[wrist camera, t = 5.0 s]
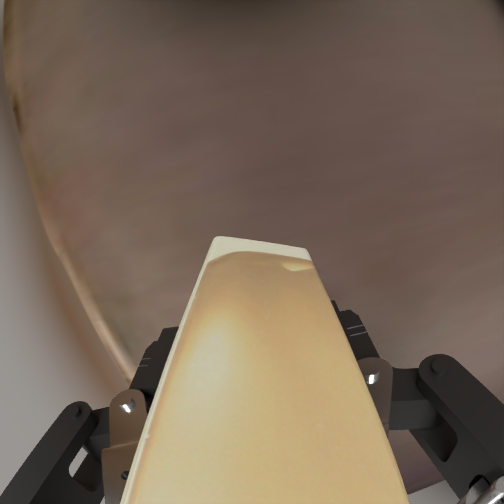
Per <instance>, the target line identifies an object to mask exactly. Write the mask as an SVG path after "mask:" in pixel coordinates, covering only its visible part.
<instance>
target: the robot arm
mask: <svg viewBox="0 0 504 504" xmlns="http://www.w3.org/2000/svg"><path fill="white" fill-rule="evenodd" d="M331 303H332V305H333V307H334V310H335V312H336V314H337V317H338V319H339V321H340V324H341V326H342V328H343V330H344V332H345V335H346V337H347V339H348V342H349V344H350V346H351V349H352V351H353V354H354V356H355V358H356V361H357V363H358V366H359V368H360V371H361V373H362V375H363V377H364V380H365V383H366V385H367V388H368V390H369V392H370V395H371V397H372V399H373V402H374V404H375V407H376V409H377V412H378V415H379V417H380V420H381V423H382V425H383V428H384V431H385V433H386V436H387V438H388V432H389V430H406V429H409V431H410V432H411V434H412V435H413V436H414V438H415V439H416V440H417V442H418V443H419V444H420V446H421V447H422V448H423V450H424V451H425V452H426V454H427V455H428V457H429V458H430V459H431V461H432V462H433V463H434V465H435V466H436V467H437V469H438V470H439V472H440V473H441V474H442V476H443V477H444V478H445V480H446V481H447V482H448V484H449V485H450V487H451V488H452V489H453V491H454V492H455V493H456V495H457V496H458V498H459V499H460V500H459V502H458V503H457V504H504V404H503V403H501V402H500V401H499V400H498V399H497V398H496V397H495V396H494V395H493V394H492V393H491V392H490V391H489V390H488V389H487V388H486V387H485V386H484V385H483V384H482V383H480V382H479V381H478V380H477V379H476V378H475V377H474V376H473V375H472V374H471V373H470V372H469V371H467V370H466V369H465V368H464V367H463V366H462V365H461V364H460V363H459V362H458V361H456V360H455V359H454V358H452V357H451V356H448V355H444V354H435V355H431V356H429V357H427V358H425V359H424V360H423V361H422V362H421V363H420V365H419V368H411V369H398V368H394V367H392V366H391V365H390V364H389V363H388V362H387V361H386V360H384V359H381V358H380V357H379V355H378V353H377V351H376V349H375V347H374V345H373V343H372V341H371V339H370V337H369V335H368V333H367V332H366V329H365V327H364V326H363V323H362V321H361V319H360V318H359V316H358V315H357V314H355V313H354V312H352V311H351V310H346V311H342V312H340V311H339V309H338V307H337V305H336V302H335V301H334V300H332V301H331ZM178 329H179V327H171V328H164V329H163V330H162V332H161V335H160V337H159V340H158V341H154V342H153V343H152V344H151V345H150V346H149V347H148V348H147V349H146V351H145V353H144V355H143V358H142V360H141V362H140V364H139V367H138V369H137V371H136V374H135V376H134V378H133V381H132V383H131V385H130V388H129V389H128V390H124V391H122V392H120V393H118V394H117V395H116V396H115V397H113V399H112V400H111V402H110V404H109V407H106V408H101V409H97V410H92V409H91V407H90V406H89V405H88V404H87V403H86V402H83V401H78V402H74V403H72V404H70V405H68V406H67V407H66V408H65V409H64V410H63V411H62V413H61V414H60V415H59V417H58V418H57V419H56V420H55V422H54V423H53V424H52V425H51V427H50V428H49V429H48V431H47V432H46V433H45V435H44V436H43V437H42V439H41V440H40V441H39V443H38V444H37V445H36V447H35V448H34V449H33V451H32V452H31V454H30V455H29V456H28V458H27V459H26V460H25V462H24V463H23V465H22V466H21V467H20V469H19V470H18V472H17V473H16V474H15V476H14V477H13V479H12V480H11V482H10V483H9V485H8V486H7V487H6V489H5V490H4V492H3V493H2V495H1V496H0V504H100V503H101V501H102V499H103V497H105V504H120V503H121V499H122V496H123V492H124V489H125V486H126V482H127V479H128V476H129V472H130V469H131V466H132V463H133V460H134V456H135V453H136V450H137V447H138V444H139V441H140V438H141V435H142V432H143V429H144V426H145V423H146V420H147V417H148V414H149V411H150V408H151V405H152V402H153V399H154V396H155V393H156V391H157V388H158V385H159V382H160V379H161V376H162V373H163V370H164V367H165V364H166V362H167V359H168V356H169V353H170V350H171V348H172V345H173V342H174V339H175V337H176V334H177V331H178ZM81 447H83V448H84V449H85V451H86V452H87V453H88V454H87V456H86V457H85V459H84V460H83V462H82V463H81V465H80V467H79V468H78V470H77V471H76V473H75V475H74V476H73V477H71V476H70V474H69V466H70V464H71V462H72V461H73V459H74V458H75V456H76V455H77V453H78V452H79V450H80V449H81Z"/></svg>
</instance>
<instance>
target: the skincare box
mask: <svg viewBox="0 0 504 504" xmlns="http://www.w3.org/2000/svg"><path fill="white" fill-rule="evenodd" d="M120 504H410V501H409V498H408V496H407V493H406V490H405V487H404V484H403V480H402V477H401V474H400V471H399V469H398V466H397V463H396V460H395V457H394V454H393V452H392V449H391V446H390V444H389V441H388V438H387V436H386V433H385V431H384V428H383V425H382V423H381V420H380V417H379V415H378V412H377V409H376V407H375V404H374V402H373V399H372V397H371V395H370V392H369V390H368V388H367V385H366V383H365V380H364V377H363V375H362V373H361V371H360V368H359V366H358V363H357V361H356V358H355V356H354V354H353V351H352V349H351V346H350V344H349V342H348V339H347V337H346V335H345V332H344V330H343V328H342V326H341V324H340V321H339V319H338V317H337V314H336V312H335V310H334V307H333V305H332V303H331V301H330V299H329V297H328V294H327V292H326V290H325V288H324V286H323V283H322V281H321V279H320V277H319V275H318V273H317V271H316V268H315V266H314V264H313V262H312V260H311V258H310V256H309V253H308V251H307V250H306V249H304V248H298V247H292V246H287V245H281V244H274V243H269V242H261V241H255V240H247V239H239V238H232V237H223V236H217V237H215V238H214V239H213V241H212V244H211V246H210V249H209V252H208V254H207V257H206V259H205V262H204V264H203V267H202V269H201V272H200V274H199V277H198V279H197V282H196V285H195V287H194V290H193V292H192V295H191V297H190V300H189V302H188V305H187V308H186V310H185V313H184V315H183V318H182V321H181V323H180V326H179V329H178V331H177V334H176V337H175V339H174V342H173V345H172V348H171V350H170V353H169V356H168V359H167V362H166V364H165V367H164V370H163V373H162V376H161V379H160V382H159V385H158V388H157V391H156V393H155V396H154V399H153V402H152V405H151V408H150V411H149V414H148V417H147V420H146V423H145V426H144V429H143V432H142V435H141V438H140V441H139V444H138V447H137V450H136V453H135V456H134V460H133V463H132V466H131V469H130V472H129V476H128V479H127V482H126V486H125V489H124V492H123V496H122V499H121V503H120Z"/></svg>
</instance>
